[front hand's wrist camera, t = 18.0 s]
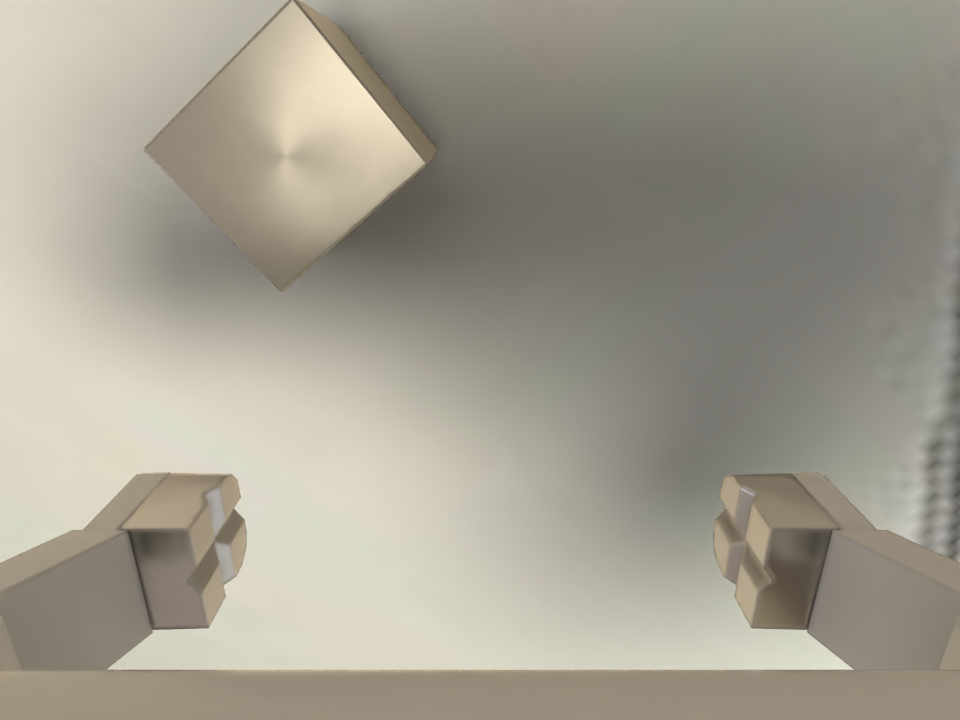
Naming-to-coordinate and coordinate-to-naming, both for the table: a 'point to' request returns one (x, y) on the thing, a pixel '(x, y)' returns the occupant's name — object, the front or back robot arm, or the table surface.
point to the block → (292, 144)
